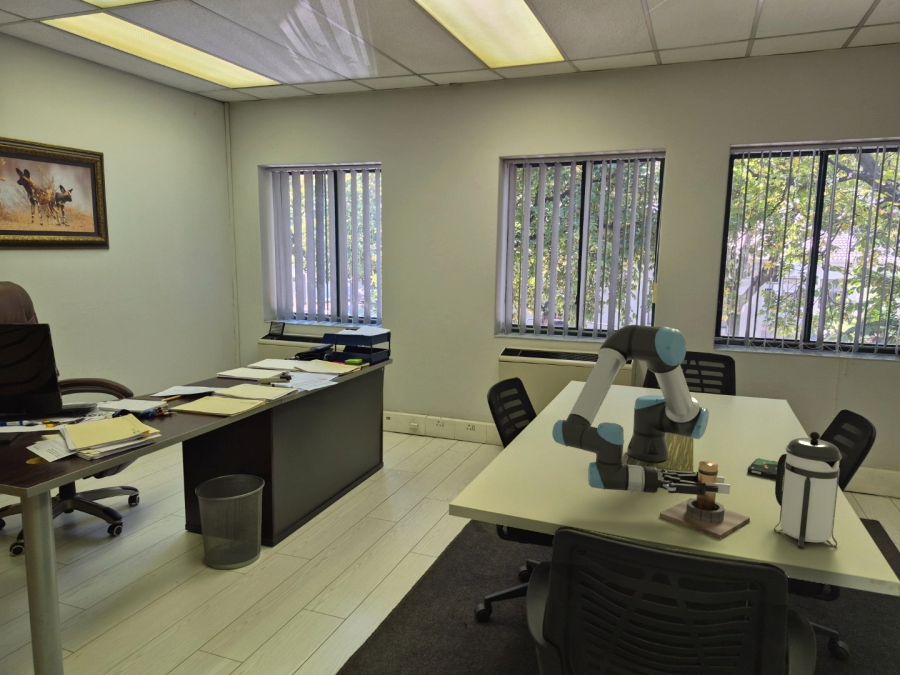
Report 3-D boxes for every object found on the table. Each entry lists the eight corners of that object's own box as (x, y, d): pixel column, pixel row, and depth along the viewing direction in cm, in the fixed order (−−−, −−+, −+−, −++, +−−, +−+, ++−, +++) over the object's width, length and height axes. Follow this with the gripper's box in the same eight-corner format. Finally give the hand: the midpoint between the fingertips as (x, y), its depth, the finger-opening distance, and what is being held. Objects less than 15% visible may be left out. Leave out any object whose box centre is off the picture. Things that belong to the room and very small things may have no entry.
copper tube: (700, 505, 178) (704, 459, 176) (718, 510, 174) (721, 464, 172) (691, 509, 174) (695, 463, 173) (709, 515, 170) (713, 468, 169)
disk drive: (779, 482, 206) (787, 470, 218) (780, 475, 206) (788, 463, 217) (746, 475, 213) (755, 464, 224) (747, 468, 212) (756, 456, 224)
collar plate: (690, 501, 187) (691, 488, 186) (749, 521, 173) (750, 507, 173) (659, 516, 176) (660, 503, 175) (720, 539, 162) (721, 524, 161)
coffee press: (842, 537, 164) (854, 431, 160) (830, 558, 153) (843, 444, 149) (772, 518, 176) (782, 418, 172) (757, 536, 164) (766, 430, 160)
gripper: (637, 480, 185) (717, 486, 181) (646, 503, 168) (734, 510, 164) (638, 456, 184) (719, 462, 180) (647, 477, 167) (736, 484, 163)
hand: (726, 485), depth 172 cm, fingers closed on copper tube, 5 cm apart
